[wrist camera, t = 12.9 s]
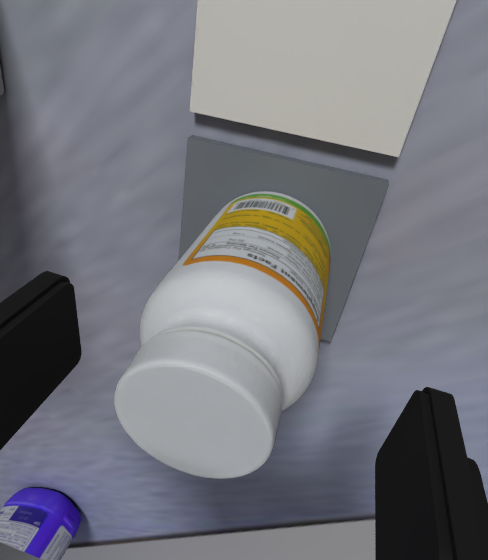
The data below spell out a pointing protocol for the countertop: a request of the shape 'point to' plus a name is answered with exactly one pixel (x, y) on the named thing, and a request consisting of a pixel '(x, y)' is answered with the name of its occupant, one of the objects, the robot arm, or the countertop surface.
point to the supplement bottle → (229, 339)
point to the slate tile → (297, 184)
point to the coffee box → (1, 83)
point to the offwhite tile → (318, 66)
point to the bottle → (39, 523)
